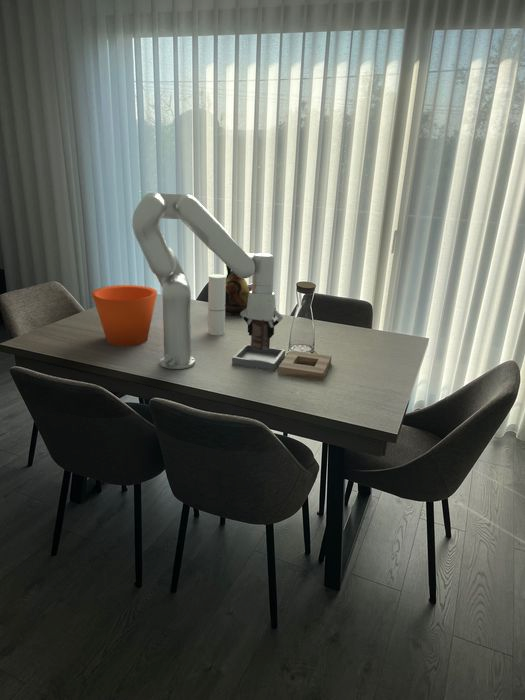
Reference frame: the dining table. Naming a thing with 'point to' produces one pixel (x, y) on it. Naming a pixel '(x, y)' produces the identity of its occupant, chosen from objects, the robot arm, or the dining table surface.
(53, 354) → the dining table surface
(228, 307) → the ceramic jug
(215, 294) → the cylindrical container
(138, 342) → the flowerpot
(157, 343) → the dining table surface
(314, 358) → the socket board
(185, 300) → the robot arm
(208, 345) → the dining table surface
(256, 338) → the box
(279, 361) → the tray
